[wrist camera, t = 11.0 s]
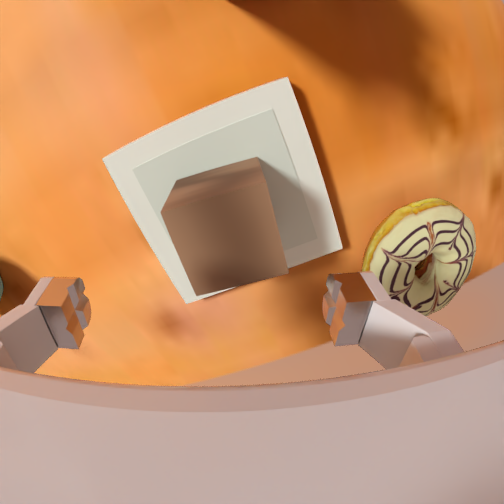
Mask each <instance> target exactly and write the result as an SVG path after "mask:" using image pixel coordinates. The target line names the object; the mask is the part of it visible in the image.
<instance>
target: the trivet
mask: <svg viewBox="0 0 504 504" xmlns="http://www.w3.org/2000/svg"><path fill="white" fill-rule="evenodd" d="M254 157H258V160H259V163H260V166H261V169H262V171H263V174H264V177H265V180H266V183H267V187H268V191H269V194H270V198H271V202H272V206H273V210H274V214H275V218H276V222H277V226H278V230H279V234H280V238H281V242H282V246H283V250H284V254H285V259H286V263H287V267H288V268H291V267H294V266H296V265H299V264H302V263H305V262H307V261H310V260H313V259H316V258H318V257H321V256H324V255H326V254H329V253H332V252H334V251H337V250H340V249H343V247H342V243H341V240H340V236H339V232H338V228H337V225H336V221H335V218H334V214H333V211H332V207H331V204H330V200H329V197H328V193H327V190H326V187H325V183H324V180H323V177H322V174H321V171H320V167H319V164H318V161H317V158H316V155H315V152H314V149H313V146H312V143H311V140H310V137H309V134H308V131H307V128H306V125H305V122H304V120H303V117H302V114H301V111H300V108H299V106H298V103H297V100H296V98H295V95H294V92H293V90H292V87H291V84H290V82H289V79H288V77H283V78H280V79H277V80H274V81H271V82H268V83H265V84H262V85H259V86H257V87H254V88H251V89H248V90H246V91H243V92H240V93H238V94H235V95H233V96H230V97H227V98H225V99H222V100H220V101H217V102H215V103H213V104H210V105H208V106H205V107H203V108H201V109H198V110H196V111H194V112H192V113H189V114H187V115H185V116H183V117H181V118H178V119H176V120H174V121H172V122H170V123H168V124H166V125H163V126H161V127H159V128H157V129H155V130H153V131H151V132H149V133H147V134H145V135H143V136H141V137H139V138H138V139H136V140H134V141H132V142H130V143H128V144H126V145H124V146H123V147H121V148H119V149H117V150H115V151H113V152H112V153H110V154H108V155H107V156H106V157H104V158H103V159H102V160H103V162H104V164H105V165H106V167H107V169H108V171H109V173H110V175H111V177H112V179H113V181H114V183H115V184H116V186H117V188H118V190H119V192H120V194H121V196H122V197H123V199H124V201H125V203H126V205H127V206H128V208H129V210H130V212H131V214H132V215H133V217H134V219H135V221H136V222H137V224H138V226H139V228H140V229H141V231H142V233H143V234H144V236H145V238H146V240H147V241H148V243H149V245H150V246H151V248H152V250H153V251H154V253H155V255H156V256H157V258H158V260H159V261H160V263H161V265H162V266H163V268H164V269H165V271H166V273H167V274H168V276H169V277H170V279H171V281H172V282H173V284H174V285H175V287H176V289H177V290H178V292H179V293H180V295H181V296H182V298H183V300H184V301H185V303H186V304H188V303H191V302H194V301H197V300H200V299H203V298H206V297H209V296H212V295H214V294H217V293H220V292H223V291H226V290H229V289H232V288H229V289H225V290H221V291H217V292H213V293H208V294H204V295H200V296H196V294H195V292H194V290H193V288H192V286H191V283H190V281H189V279H188V277H187V274H186V272H185V270H184V268H183V265H182V263H181V261H180V258H179V256H178V254H177V251H176V249H175V247H174V244H173V242H172V240H171V237H170V235H169V233H168V230H167V228H166V225H165V223H164V220H163V218H162V216H161V213H160V212H161V210H162V208H163V206H164V204H165V202H166V200H167V198H168V196H169V194H170V192H171V190H172V188H173V186H174V184H175V182H176V180H178V179H181V178H185V177H188V176H191V175H194V174H198V173H201V172H204V171H208V170H211V169H214V168H218V167H221V166H225V165H228V164H232V163H236V162H239V161H243V160H247V159H250V158H254ZM233 288H235V287H233Z"/></svg>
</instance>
